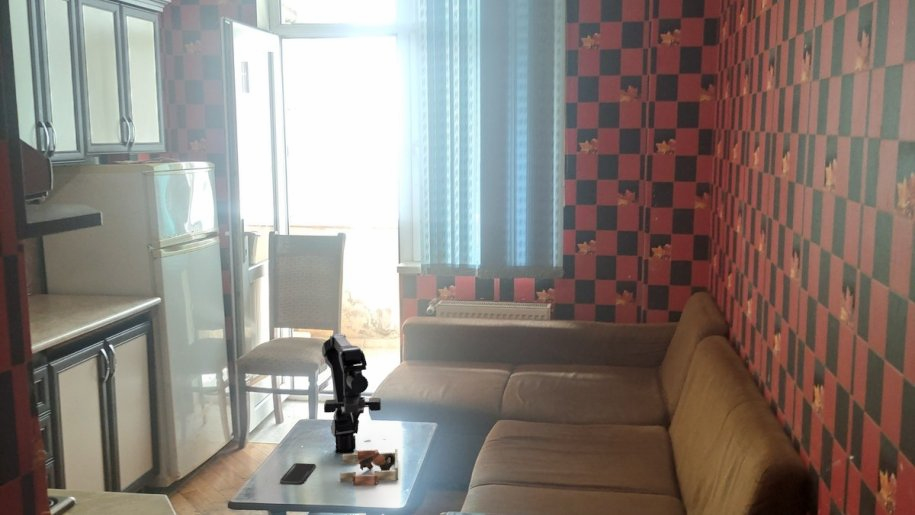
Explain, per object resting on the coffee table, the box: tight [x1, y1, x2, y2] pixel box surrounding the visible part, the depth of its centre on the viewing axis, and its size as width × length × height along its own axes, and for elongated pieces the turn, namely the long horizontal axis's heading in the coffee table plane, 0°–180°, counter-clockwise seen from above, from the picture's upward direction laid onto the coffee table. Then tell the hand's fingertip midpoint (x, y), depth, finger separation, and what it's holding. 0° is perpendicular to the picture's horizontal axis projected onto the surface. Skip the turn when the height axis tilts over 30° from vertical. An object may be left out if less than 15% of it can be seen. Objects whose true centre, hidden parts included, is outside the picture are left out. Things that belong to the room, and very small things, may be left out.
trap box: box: [339, 448, 399, 487], centre depth 272 cm, size 18×22×4 cm
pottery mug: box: [358, 451, 395, 471], centre depth 270 cm, size 12×10×8 cm
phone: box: [279, 462, 317, 485], centre depth 270 cm, size 8×1×15 cm
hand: (353, 429), depth 277 cm, fingers closed
